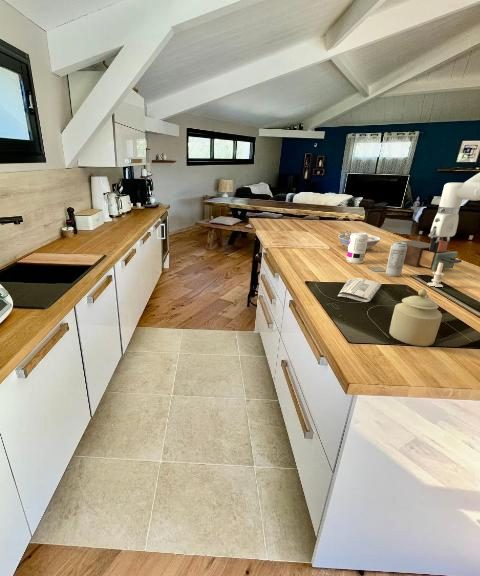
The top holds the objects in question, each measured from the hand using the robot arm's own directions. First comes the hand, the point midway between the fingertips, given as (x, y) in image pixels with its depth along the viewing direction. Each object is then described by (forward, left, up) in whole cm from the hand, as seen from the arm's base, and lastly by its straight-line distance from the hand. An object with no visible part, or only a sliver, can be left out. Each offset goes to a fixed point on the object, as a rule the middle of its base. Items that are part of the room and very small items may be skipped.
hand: (437, 249), depth 148 cm
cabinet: (0, -11, -9) cm, 14 cm away
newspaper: (+56, +15, -9) cm, 59 cm away
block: (0, 0, 0) cm, 0 cm away
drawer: (0, +1, -8) cm, 8 cm away
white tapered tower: (+22, +19, -9) cm, 31 cm away
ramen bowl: (+7, -43, -9) cm, 44 cm away
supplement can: (+28, -20, -9) cm, 35 cm away
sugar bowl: (+67, +48, -9) cm, 83 cm away
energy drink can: (+27, +3, -9) cm, 29 cm away
